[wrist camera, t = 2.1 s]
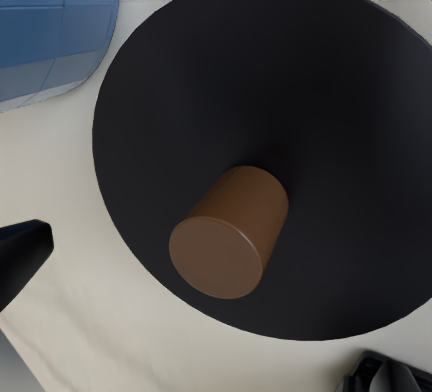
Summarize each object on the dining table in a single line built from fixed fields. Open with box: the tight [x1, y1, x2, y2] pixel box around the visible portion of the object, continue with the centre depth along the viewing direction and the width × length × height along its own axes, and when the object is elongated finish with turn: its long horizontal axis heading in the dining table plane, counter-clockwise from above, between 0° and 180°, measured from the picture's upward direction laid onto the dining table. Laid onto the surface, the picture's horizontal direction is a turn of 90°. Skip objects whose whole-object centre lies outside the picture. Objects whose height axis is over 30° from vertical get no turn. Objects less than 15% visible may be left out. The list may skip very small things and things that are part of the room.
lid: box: [92, 0, 432, 341], centre depth 12 cm, size 14×14×5 cm
